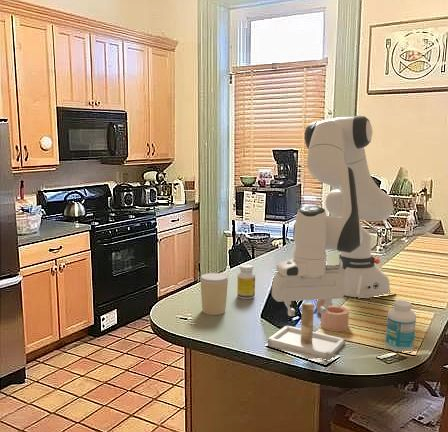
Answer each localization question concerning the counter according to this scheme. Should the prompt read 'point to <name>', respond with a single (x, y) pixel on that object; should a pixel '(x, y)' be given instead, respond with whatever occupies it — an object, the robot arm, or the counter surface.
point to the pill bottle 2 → (400, 327)
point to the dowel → (307, 323)
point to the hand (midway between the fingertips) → (307, 314)
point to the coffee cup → (214, 293)
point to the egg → (319, 304)
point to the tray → (320, 345)
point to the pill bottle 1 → (246, 282)
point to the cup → (335, 319)
